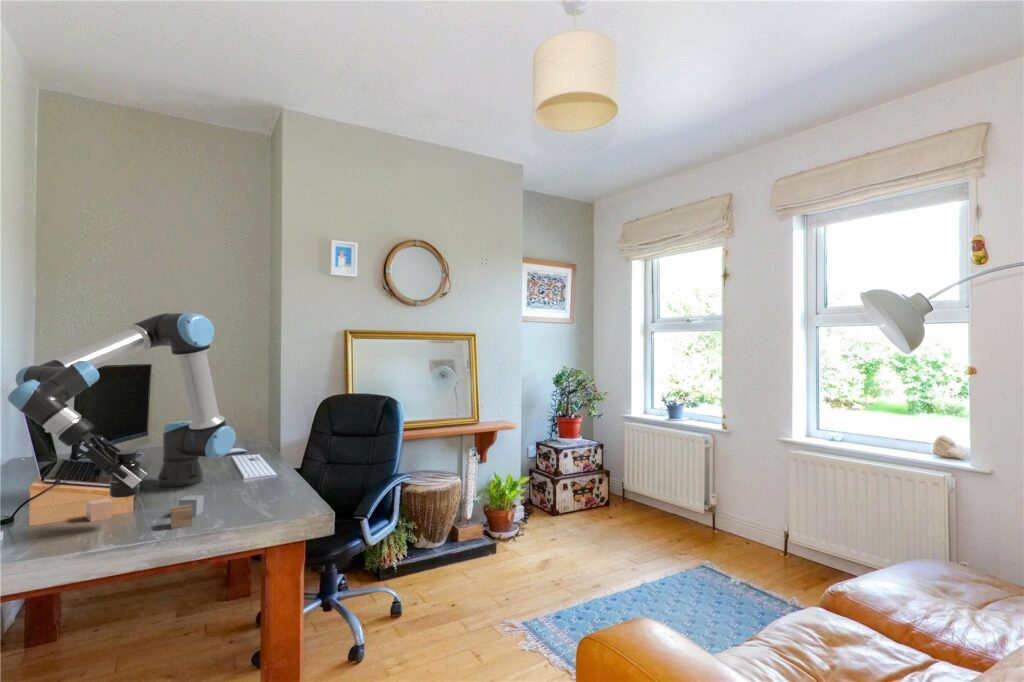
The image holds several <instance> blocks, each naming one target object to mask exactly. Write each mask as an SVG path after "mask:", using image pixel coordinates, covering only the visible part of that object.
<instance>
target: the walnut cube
mask: <svg viewBox="0 0 1024 682" xmlns="http://www.w3.org/2000/svg"><path fill="white" fill-rule="evenodd" d="M192 512H193V509H192V505H185V506H179V505H178V506H171V507H170V530H176V529H177V530H178V529H182V528H183V527H184V528H190V527H189V526H191V527H193V516H192ZM184 528H183V529H184Z"/></svg>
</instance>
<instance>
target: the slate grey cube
mask: <svg viewBox="0 0 1024 682" xmlns="http://www.w3.org/2000/svg"><path fill="white" fill-rule="evenodd" d="M204 499H205V495H204V494H202V495H201V494H200V495H199V494H198V495H197V494H196V495H193V494H192V495H185V496H184V497H183V496H182V498H179V499H178V506H185V505H192V509H193V512H192V517H197V516H199V515H200V514H201V513H202V511H203V512H204V501H205V500H204Z"/></svg>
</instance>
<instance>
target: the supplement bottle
mask: <svg viewBox="0 0 1024 682" xmlns="http://www.w3.org/2000/svg"><path fill="white" fill-rule="evenodd" d="M121 451H122V450H121ZM137 457H138V456H137V450H123V451H122V452H117V453H116V458H115V460H116V462H117V463H118V464H119V465H120V466H124V467H125V468H126V469H128V470H129V471H130V472H131V473H133V474H134V475H135V476H137V477H138V478H139V479H140V469H141V462H140V461H139V460H137ZM140 483H141V481H140V482H139V483H138V484H137V485H136V486H135V487H133V488H131V487H130V486H129V485H127V484H126V483H125V482H123V481H122V480H121V479H119V478H118V477H117V476H115V475H114V474H113V473H112V474H111V475H109V496H110V497H111V498H127V497H132V496H135V495H137V494H139V493H140Z"/></svg>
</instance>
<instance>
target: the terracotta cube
mask: <svg viewBox="0 0 1024 682" xmlns="http://www.w3.org/2000/svg"><path fill="white" fill-rule="evenodd" d="M86 503H87V504H86V519H87V520H88V521H89V522H96V521H102V520H107V519H108V520H109V519H111V518H112V517H113V500H112V499H110V498H109V497H106V498H105V499H104V498H100V499H99V498H98V499H93V500H87V502H86Z"/></svg>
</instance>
